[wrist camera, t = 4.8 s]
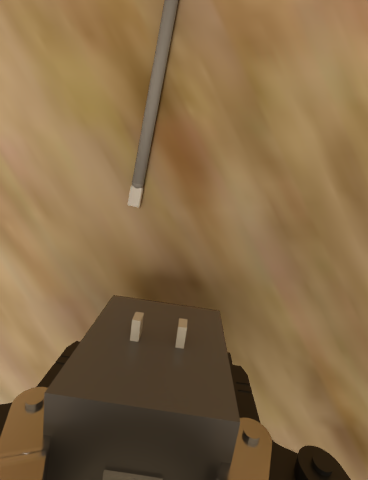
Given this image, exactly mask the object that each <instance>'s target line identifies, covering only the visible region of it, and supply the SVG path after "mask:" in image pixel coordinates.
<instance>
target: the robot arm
mask: <svg viewBox="0 0 368 480" xmlns="http://www.w3.org/2000/svg"><path fill="white" fill-rule="evenodd" d="M79 343H80V342H79V341H76V342H74V343H73V344H71V345H70V346H68V347H67V348H66V349H65V350H64V352H63V353H62V354H61V356H60V357H59V358H58V360H57V361H56V363H55V364H54V365H53V366H52V367H51V369H50V370H49V371H48V373H47V374H46V375H45V377H44V378H43V379H42V381H41V382H40V383H39V384H38V386H37V387H35V388H31V389H29V390H26V391H24V392H22V393H21V394H20V395H18V396H17V397H16V398H15V399H14V401H13V402H12V403H8V404H1V405H0V480H47V472H48V463H49V456H50V449H51V436H49V435H43V421H44V393H45V391H46V390H47V389H48V387H49V386H50V384H51V383H52V381H53V380H54V379H55V377H56V376H57V374H58V373H59V372H60V370H61V369H62V367H63V366H64V364H65V363H66V362H67V360H68V359H69V357H70V356H71V355H72V353H73V352H74V350H75V349H76V348H77V346H78V345H79ZM227 353H228V352H227ZM228 359H229V364H230V369H231V375H232V380H233V385H234V391H235V396H236V401H237V407H238V412H239V417H240V427H239V431H238V436H237V440H236V444H235V449H234V453H233V458H232V462H231V463H225V462H221V464H220V468H219V471H218V475H216V478H215V480H351V479H350V478H349V477H348V475H347V474H346V472H345V471H344V470H343V468H342V467H341V465H340V464H339V463H338V462H337V461H336V459H335V458H334V457H332V456H331V455H330V454H329V453H327V452H326V451H324V450H322V449H320V448H318V447H315V446H304V447H302V448H301V449H300V450H299V453H298V454H297V453H295V452H293V451H291V450H288V449H286V448H284V447H282V446H280V445H278V444H277V443H275V442H274V441H273V440H272V439H271V436H270V434H269V432H268V431H267V429H266V428H265V427H264V426H263V425H262V424H261V423H260V420H259V417H258V413H257V409H256V405H255V402H254V398H253V394H252V390H251V387H250V383H249V379H248V375H247V374H246V372H245V371H244V370H243V369H242V367H241V366H236V365H233V364H232V360H231V355H230V353H228Z"/></svg>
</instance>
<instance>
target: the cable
mask: <svg viewBox="0 0 368 480" xmlns="http://www.w3.org/2000/svg"><path fill="white" fill-rule="evenodd" d="M177 6H178V0H165V1H164V7H163V13H162V18H161V24H160V29H159V35H158V41H157V46H156V52H155V57H154V63H153V69H152V74H151V80H150V85H149V91H148V97H147V102H146V108H145V113H144V119H143V124H142V130H141V136H140V141H139V147H138V152H137V158H136V164H135V169H134V175H133V180H132V186H131V188H130V194H129V200H128V205H129V206H134V207H138V208H139V207H140V205H141V200H142V194H143V189H144V188H142V187H143V185H144V180H145V175H146V169H147V164H148V159H149V154H150V148H151V143H152V138H153V133H154V127H155V122H156V117H157V111H158V106H159V101H160V96H161V90H162V85H163V80H164V74H165V69H166V64H167V59H168V53H169V48H170V43H171V37H172V32H173V27H174V22H175V16H176V11H177Z"/></svg>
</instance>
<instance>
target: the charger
mask: <svg viewBox="0 0 368 480" xmlns="http://www.w3.org/2000/svg"><path fill="white" fill-rule="evenodd" d="M239 427H240V417H239V412H238V407H237V401H236V396H235V391H234V385H233V380H232V375H231V369H230V364H229V359H228V353H227V348H226V343H225V337H224V332H223V327H222V321H221V316H220V311H217V310H210V309H203V308H196V307H190V306H183V305H176V304H169V303H163V302H156V301H149V300H142V299H135V298H129V297H122V296H115V295H113V297H112V298H111V299H110V301H109V302H108V304H107V305H106V307H105V308H104V309H103V311H102V312H101V314H100V315H99V316H98V318H97V319H96V321H95V322H94V323H93V325H92V326H91V328H90V329H89V331H88V332H87V333H86V335H85V336H84V338H83V339H82V340H81V342H80V343H79V345H78V346H77V348H76V349H75V350H74V352H73V353H72V355H71V356H70V357H69V359H68V360H67V362H66V363H65V364H64V366H63V367H62V369H61V370H60V372H59V373H58V374H57V376H56V377H55V379H54V380H53V381H52V383H51V384H50V386H49V387H48V389H47V390H46V391H45V393H44V421H43V435H49V436H51V449H50V456H49V463H48V472H47V480H215V478H216V475H218V471H219V468H220V464H221V462H225V463H231V462H232V458H233V453H234V449H235V444H236V440H237V436H238V431H239Z"/></svg>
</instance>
